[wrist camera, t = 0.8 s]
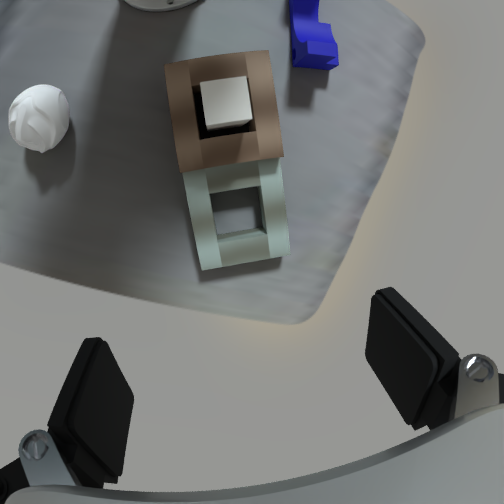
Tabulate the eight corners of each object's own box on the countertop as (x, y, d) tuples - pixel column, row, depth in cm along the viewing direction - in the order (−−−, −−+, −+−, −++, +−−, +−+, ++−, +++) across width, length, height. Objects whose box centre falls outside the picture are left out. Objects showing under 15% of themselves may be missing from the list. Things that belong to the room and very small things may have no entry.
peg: (203, 100, 29) (199, 82, 20) (236, 95, 30) (246, 75, 20) (208, 131, 31) (206, 125, 21) (240, 126, 31) (252, 118, 22)
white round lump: (23, 142, 27) (-13, 145, 20) (41, 84, 25) (7, 76, 18) (70, 157, 29) (37, 162, 22) (91, 96, 27) (61, 86, 20)
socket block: (170, 75, 28) (163, 64, 23) (260, 62, 29) (268, 50, 24) (202, 260, 36) (201, 278, 31) (284, 246, 37) (295, 261, 32)
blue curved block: (328, 70, 30) (350, 59, 24) (292, 67, 29) (307, 53, 24) (322, -9, 26) (339, -29, 20) (287, -14, 25) (300, -37, 20)
